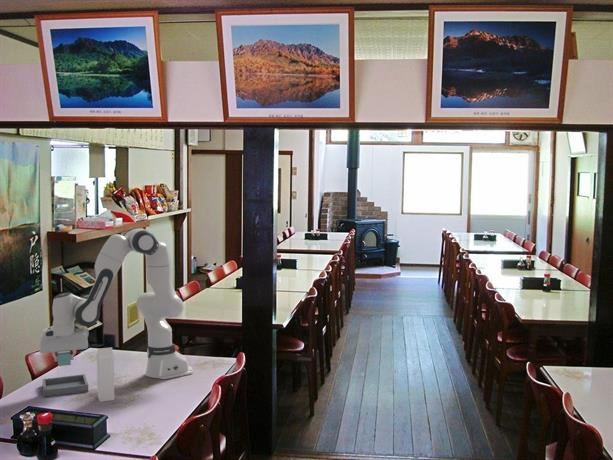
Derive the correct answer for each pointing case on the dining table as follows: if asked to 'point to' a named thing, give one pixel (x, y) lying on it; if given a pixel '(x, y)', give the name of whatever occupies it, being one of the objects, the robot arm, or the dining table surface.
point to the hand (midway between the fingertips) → (64, 360)
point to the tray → (65, 385)
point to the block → (64, 358)
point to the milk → (105, 374)
